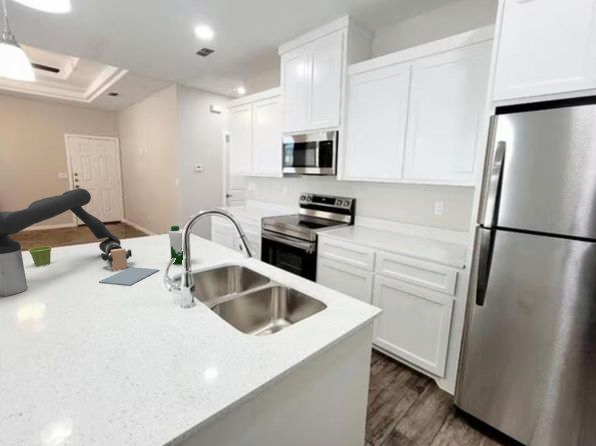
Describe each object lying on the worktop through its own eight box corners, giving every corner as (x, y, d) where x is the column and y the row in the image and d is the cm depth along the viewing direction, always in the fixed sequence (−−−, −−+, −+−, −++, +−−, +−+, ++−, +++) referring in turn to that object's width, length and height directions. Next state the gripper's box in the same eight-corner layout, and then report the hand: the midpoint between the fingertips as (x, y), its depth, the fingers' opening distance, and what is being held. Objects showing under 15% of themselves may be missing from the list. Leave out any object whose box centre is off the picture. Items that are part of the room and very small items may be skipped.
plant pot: (43, 267, 151) (41, 251, 150) (25, 267, 151) (23, 250, 150) (58, 261, 160) (56, 246, 159) (41, 261, 161) (39, 245, 159)
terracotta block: (112, 268, 151) (110, 249, 149) (126, 266, 155) (124, 248, 153) (113, 270, 149) (111, 251, 147) (127, 268, 152) (125, 249, 150)
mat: (130, 285, 131) (130, 284, 130) (98, 282, 133) (98, 281, 133) (159, 270, 150) (159, 269, 150) (131, 268, 153) (131, 267, 153)
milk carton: (178, 259, 168) (175, 224, 164) (192, 260, 166) (190, 225, 162) (168, 264, 159) (165, 227, 156) (183, 265, 158) (181, 228, 154)
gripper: (97, 246, 156) (101, 253, 144) (128, 242, 165) (135, 248, 153) (99, 259, 158) (103, 268, 145) (130, 255, 167) (136, 262, 154)
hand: (119, 258), depth 149 cm, fingers closed on terracotta block, 6 cm apart
